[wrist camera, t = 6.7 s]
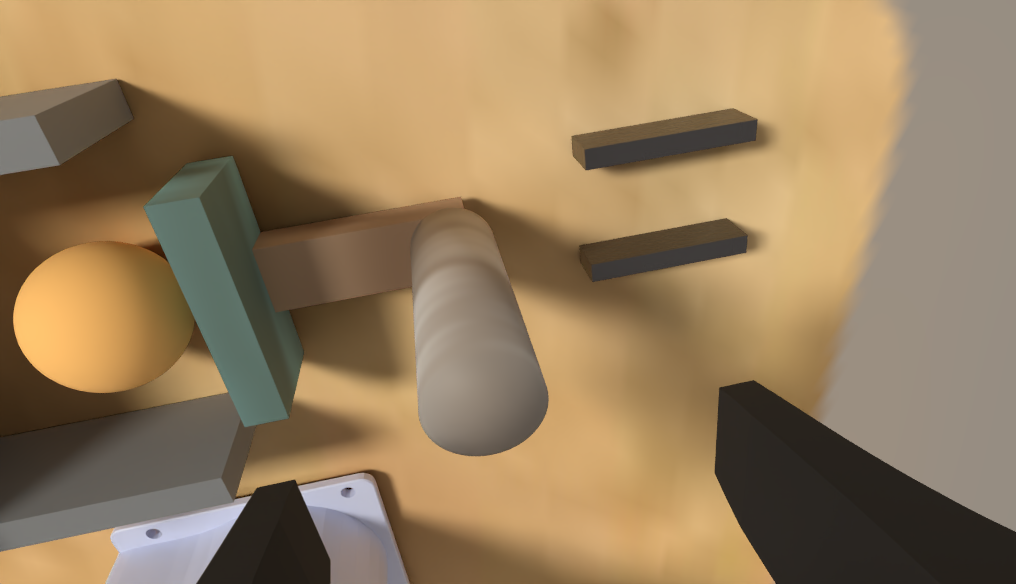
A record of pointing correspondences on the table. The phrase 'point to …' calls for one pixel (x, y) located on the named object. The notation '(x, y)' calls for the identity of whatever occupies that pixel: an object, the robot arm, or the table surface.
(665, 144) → the track
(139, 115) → the table surface
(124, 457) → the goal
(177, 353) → the ball
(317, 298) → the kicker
